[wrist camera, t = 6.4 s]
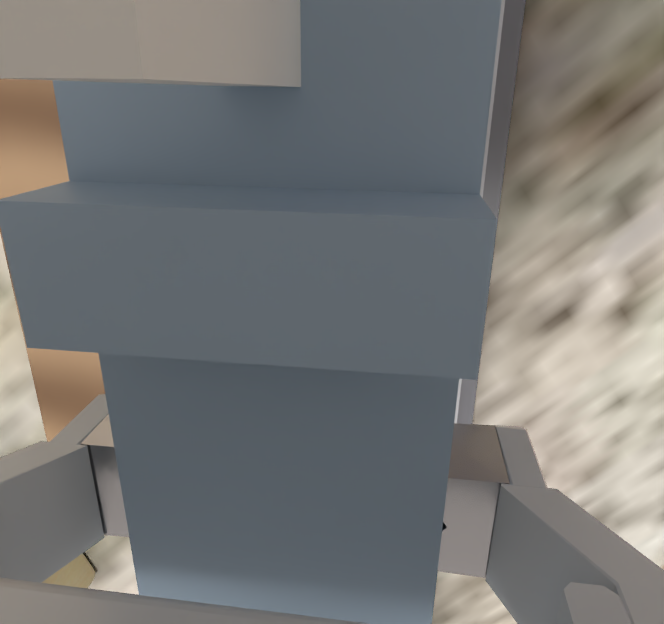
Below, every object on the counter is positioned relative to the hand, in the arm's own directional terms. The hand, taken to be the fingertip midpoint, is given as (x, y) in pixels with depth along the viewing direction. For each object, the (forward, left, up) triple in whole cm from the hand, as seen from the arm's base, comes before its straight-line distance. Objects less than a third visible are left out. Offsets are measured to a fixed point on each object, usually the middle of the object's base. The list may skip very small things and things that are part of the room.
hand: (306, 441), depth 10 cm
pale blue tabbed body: (0, 0, -2) cm, 2 cm away
